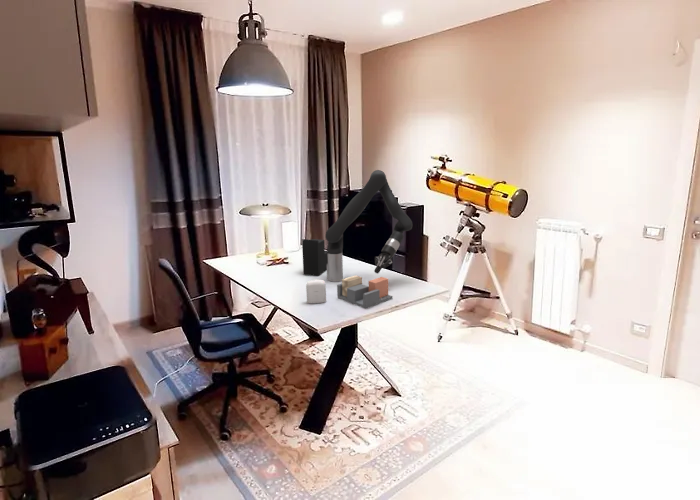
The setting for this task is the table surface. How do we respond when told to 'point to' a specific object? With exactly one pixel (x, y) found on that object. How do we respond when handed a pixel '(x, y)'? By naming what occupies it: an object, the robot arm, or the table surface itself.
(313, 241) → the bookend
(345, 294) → the ash plug
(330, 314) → the table surface
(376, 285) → the terracotta plug
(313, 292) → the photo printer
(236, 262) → the table surface
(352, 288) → the grey slotted tray
